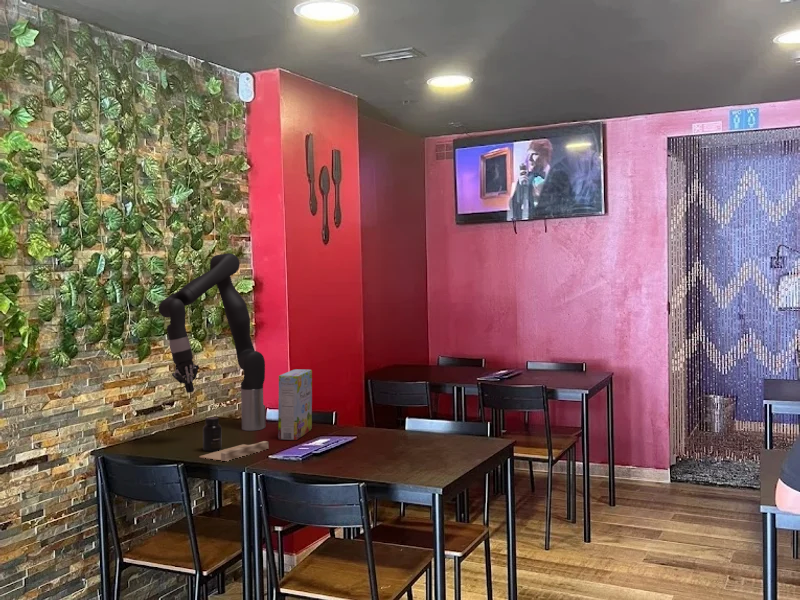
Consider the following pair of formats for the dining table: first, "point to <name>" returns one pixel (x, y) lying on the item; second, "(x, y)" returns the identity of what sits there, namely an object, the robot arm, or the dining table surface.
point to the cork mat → (219, 453)
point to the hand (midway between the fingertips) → (190, 392)
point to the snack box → (295, 404)
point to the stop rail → (244, 451)
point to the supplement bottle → (212, 435)
